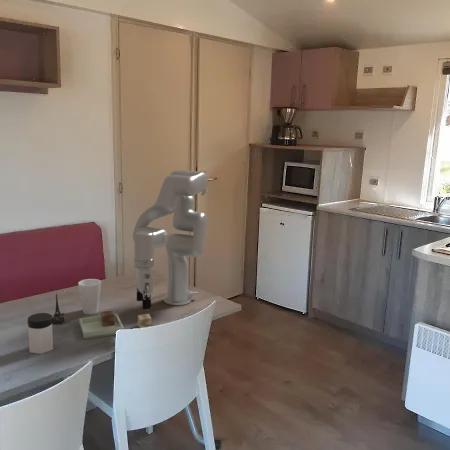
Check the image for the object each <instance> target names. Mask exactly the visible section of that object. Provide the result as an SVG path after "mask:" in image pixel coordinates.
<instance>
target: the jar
mask: <svg viewBox="0 0 450 450" xmlns="http://www.w3.org/2000/svg"><path fill="white" fill-rule="evenodd" d="M52 317H53V315H52V314H51V313H47V312H38V313H34V314H31V315H30V316H28V318H27V326H28V327H27V330H28V333H27V334H28V346H29V349H28V351H29V353H30V354H31V353H32V354H37V355H38V354H39V355H43V354H46V353H48V352H51V351H53V350H54V336H53V335H54V334H53V333H54V332H53V330H52V329H53V325H52Z"/></svg>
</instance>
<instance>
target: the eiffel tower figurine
mask: <svg viewBox="0 0 450 450" xmlns="http://www.w3.org/2000/svg"><path fill="white" fill-rule="evenodd" d="M55 294H56V295H55V310H54V313H53V314H54V315H53V316H52V326H54V325H57V326H58V325H65V323H66V318H65V317H64V316H65V315H66V313H65V312H62V313H61V311H60V307H59V301H58V293H57V291H56V293H55ZM52 331H53V328H52Z"/></svg>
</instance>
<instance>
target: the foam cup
mask: <svg viewBox="0 0 450 450" xmlns="http://www.w3.org/2000/svg"><path fill="white" fill-rule="evenodd" d="M77 283H78V285H77V288H78V289H77V290H78V291H79V297H80V303H81V308H82V313H83V314H85V315H93V314H97V313H98V312H99V308H100V298H101V288H102V280H100V279H98V278H97V279H96V278H87V279H86V278H85V279H81V280H80V281H78V282H77Z"/></svg>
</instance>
